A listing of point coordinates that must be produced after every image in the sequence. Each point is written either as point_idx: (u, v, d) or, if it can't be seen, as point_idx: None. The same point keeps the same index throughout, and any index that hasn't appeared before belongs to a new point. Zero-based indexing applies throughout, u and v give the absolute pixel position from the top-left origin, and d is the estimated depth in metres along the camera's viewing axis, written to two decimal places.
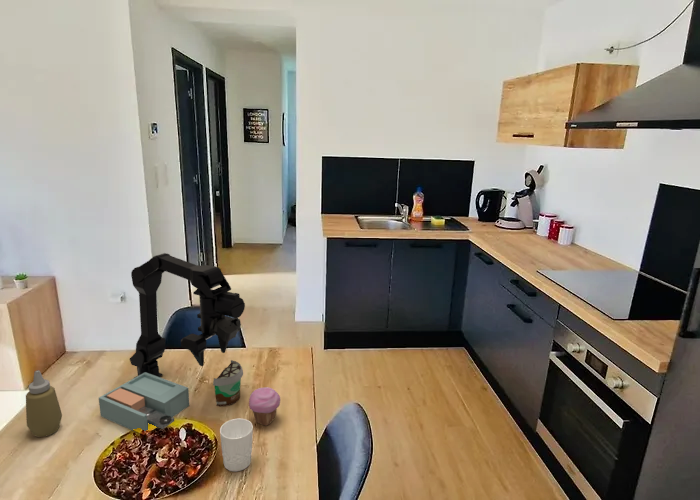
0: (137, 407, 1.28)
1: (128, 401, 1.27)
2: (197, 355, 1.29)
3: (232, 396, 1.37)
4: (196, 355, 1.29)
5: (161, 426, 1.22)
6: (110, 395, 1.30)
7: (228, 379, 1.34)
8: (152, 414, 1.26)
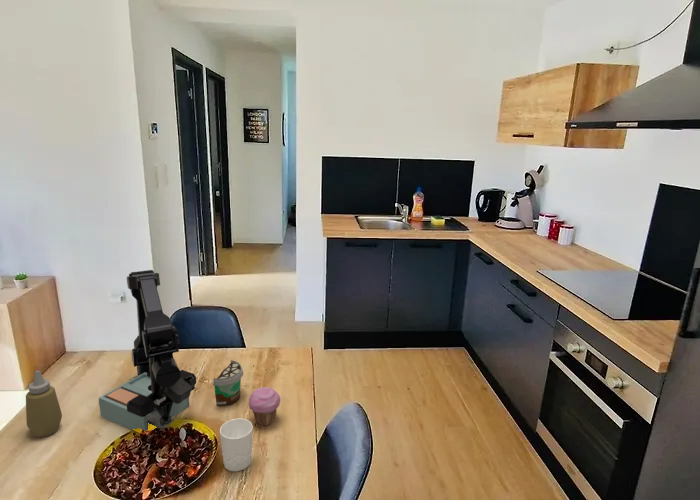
0: None
1: None
2: (160, 409, 1.21)
3: (232, 396, 1.37)
4: (159, 409, 1.22)
5: (161, 426, 1.22)
6: (110, 395, 1.30)
7: (228, 379, 1.34)
8: (152, 414, 1.26)
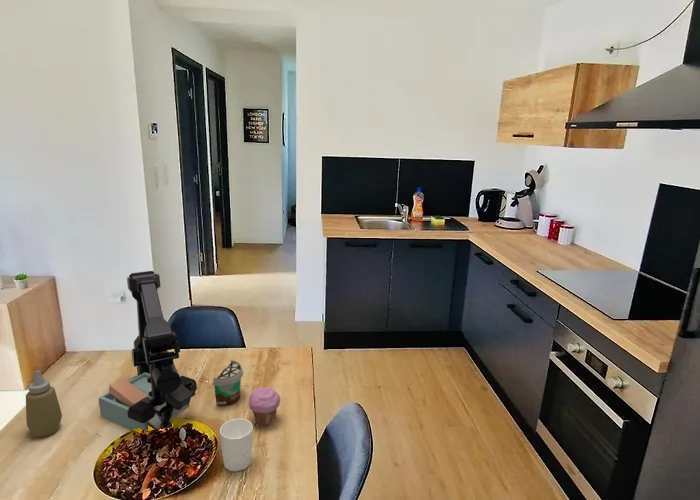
0: None
1: (131, 397, 1.26)
2: (160, 415, 1.22)
3: (232, 396, 1.37)
4: (159, 415, 1.22)
5: None
6: (113, 385, 1.28)
7: (228, 379, 1.34)
8: None
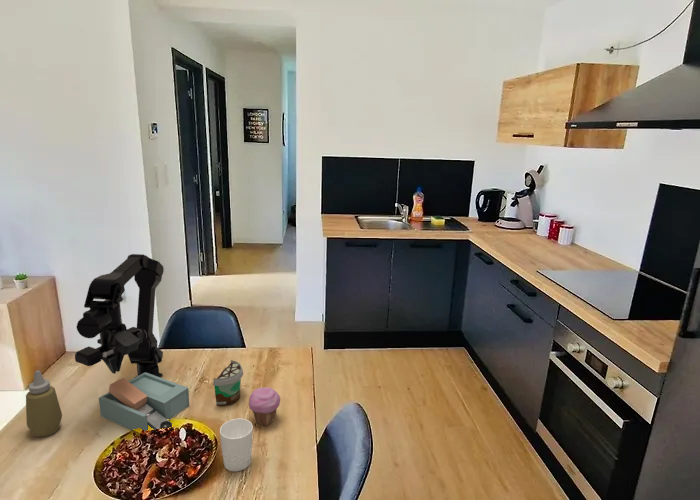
0: (139, 405, 1.27)
1: (131, 397, 1.26)
2: (108, 362, 1.26)
3: (232, 396, 1.37)
4: (107, 362, 1.27)
5: None
6: (113, 385, 1.28)
7: (228, 379, 1.34)
8: (153, 415, 1.26)
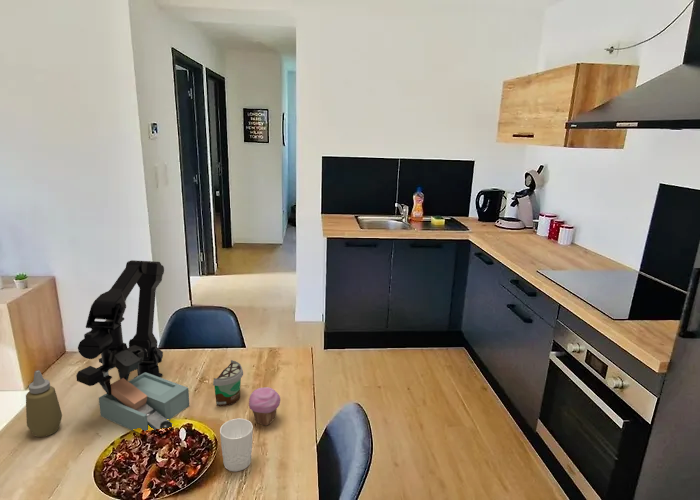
0: (139, 405, 1.27)
1: (131, 397, 1.26)
2: (103, 384, 1.27)
3: (232, 396, 1.37)
4: (102, 384, 1.27)
5: None
6: (113, 385, 1.28)
7: (228, 379, 1.34)
8: (153, 415, 1.26)
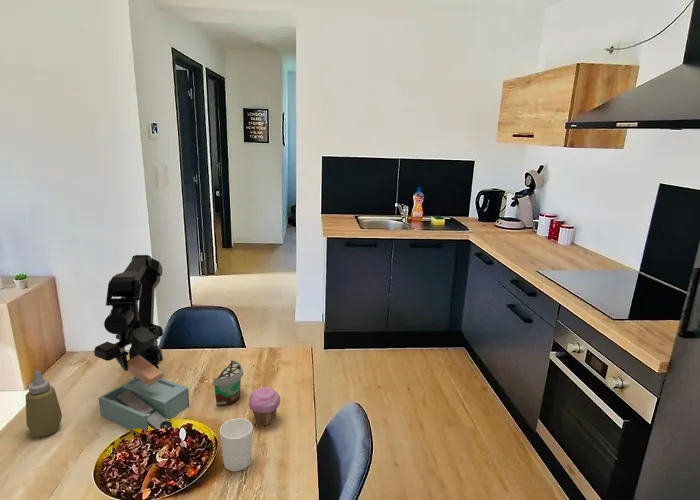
0: (154, 381, 1.30)
1: (146, 373, 1.29)
2: (120, 360, 1.29)
3: (232, 396, 1.37)
4: (119, 360, 1.30)
5: None
6: (129, 361, 1.31)
7: (228, 379, 1.34)
8: (153, 415, 1.26)
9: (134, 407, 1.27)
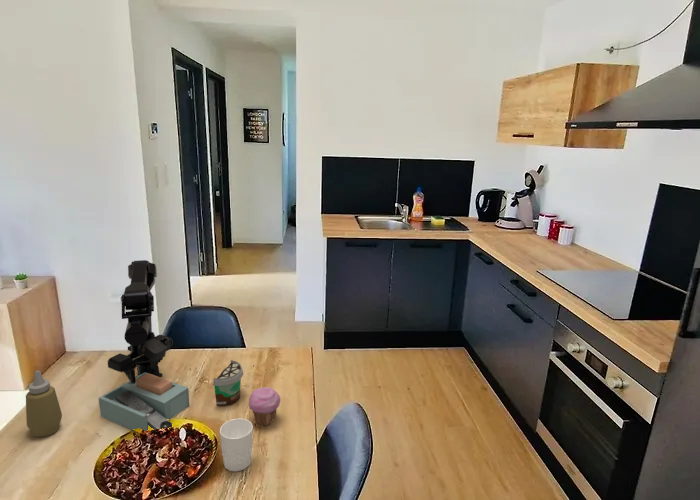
0: None
1: (156, 384, 1.33)
2: (128, 373, 1.32)
3: (232, 396, 1.37)
4: (127, 373, 1.32)
5: None
6: (139, 379, 1.35)
7: (228, 379, 1.34)
8: (153, 415, 1.26)
9: (134, 407, 1.27)
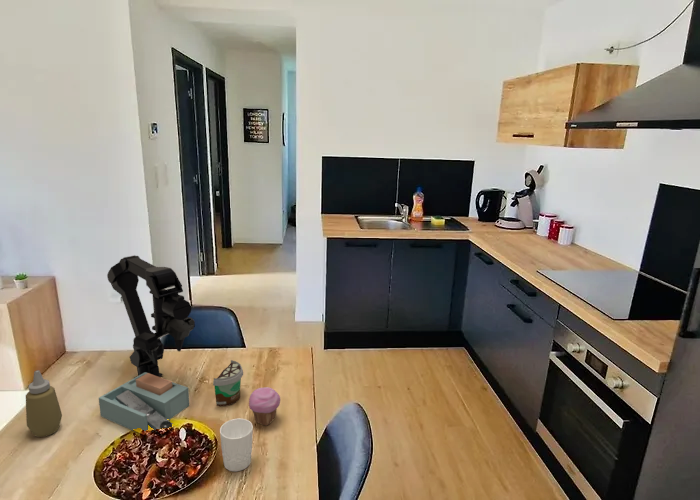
0: None
1: (156, 384, 1.33)
2: (150, 353, 1.33)
3: (232, 396, 1.37)
4: (149, 353, 1.33)
5: None
6: (139, 379, 1.35)
7: (228, 379, 1.34)
8: (153, 415, 1.26)
9: (134, 407, 1.27)
